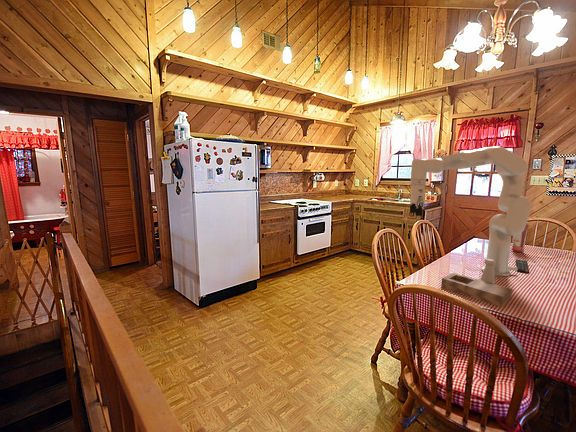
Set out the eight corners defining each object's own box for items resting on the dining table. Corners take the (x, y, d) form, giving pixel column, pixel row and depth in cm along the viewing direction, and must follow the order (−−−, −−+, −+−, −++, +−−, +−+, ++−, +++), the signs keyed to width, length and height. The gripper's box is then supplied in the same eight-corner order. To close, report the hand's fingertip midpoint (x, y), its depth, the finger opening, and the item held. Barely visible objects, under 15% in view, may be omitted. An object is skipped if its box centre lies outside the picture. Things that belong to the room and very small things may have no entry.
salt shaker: (476, 283, 142) (480, 257, 139) (487, 282, 142) (491, 257, 140) (485, 288, 136) (489, 261, 134) (497, 287, 136) (501, 261, 134)
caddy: (511, 299, 125) (512, 289, 124) (501, 306, 118) (502, 296, 117) (452, 281, 144) (453, 272, 143) (441, 287, 137) (442, 278, 136)
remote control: (526, 263, 174) (527, 261, 173) (529, 274, 155) (529, 272, 154) (515, 261, 177) (515, 259, 176) (516, 272, 158) (516, 270, 157)
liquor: (527, 253, 191) (533, 211, 186) (516, 253, 191) (522, 211, 186) (518, 250, 198) (524, 209, 193) (507, 250, 198) (513, 209, 193)
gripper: (431, 183, 145) (428, 217, 148) (420, 181, 162) (417, 211, 165) (416, 183, 146) (413, 216, 149) (406, 181, 163) (403, 211, 166)
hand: (415, 214), depth 157 cm, fingers open, 9 cm apart
